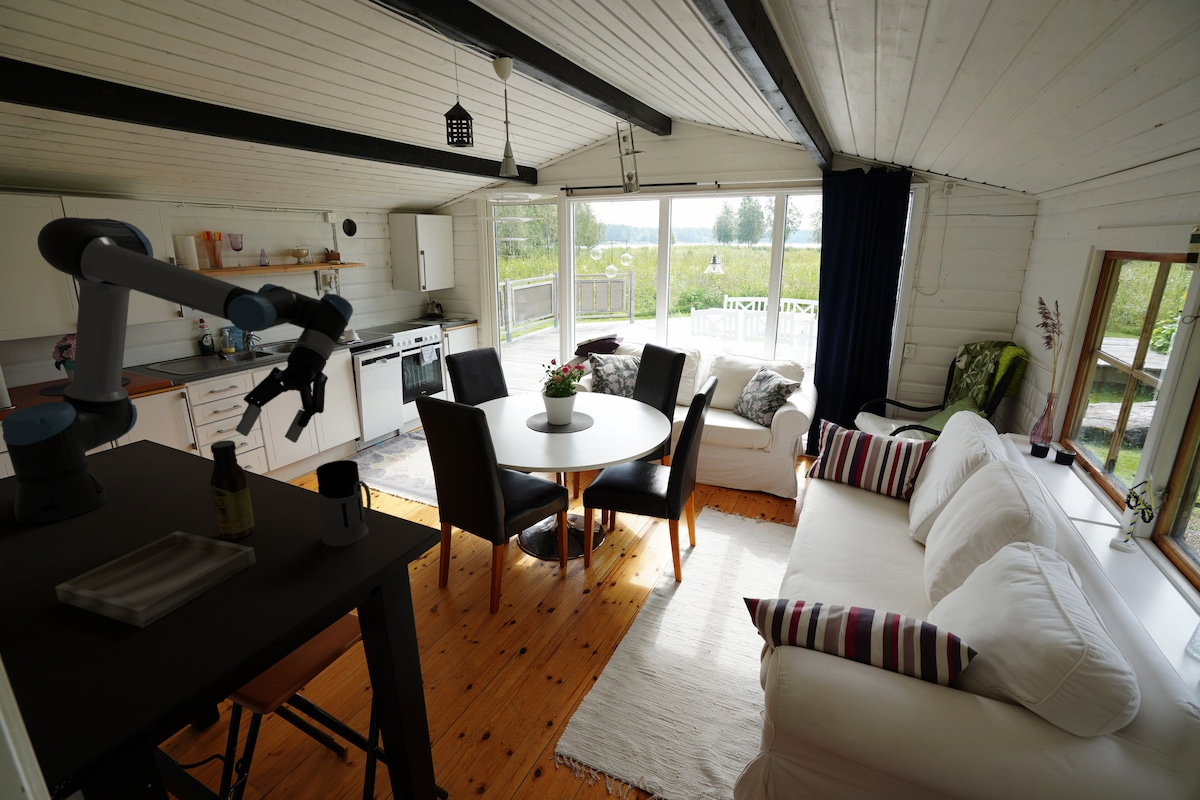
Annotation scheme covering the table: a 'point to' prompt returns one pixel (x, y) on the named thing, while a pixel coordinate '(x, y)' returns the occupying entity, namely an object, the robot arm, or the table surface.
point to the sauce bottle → (230, 493)
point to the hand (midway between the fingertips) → (265, 436)
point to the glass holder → (342, 502)
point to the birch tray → (156, 577)
